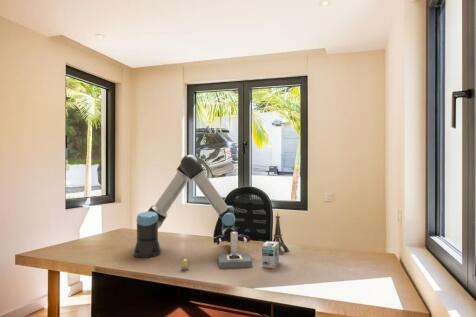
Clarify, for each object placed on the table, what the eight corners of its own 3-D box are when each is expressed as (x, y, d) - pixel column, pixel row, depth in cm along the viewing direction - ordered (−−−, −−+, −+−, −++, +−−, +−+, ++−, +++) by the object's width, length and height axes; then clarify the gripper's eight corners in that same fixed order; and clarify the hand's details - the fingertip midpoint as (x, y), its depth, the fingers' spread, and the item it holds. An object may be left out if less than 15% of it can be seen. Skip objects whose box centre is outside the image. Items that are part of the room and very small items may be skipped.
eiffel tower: (281, 255, 178) (281, 210, 178) (265, 252, 184) (265, 209, 184) (290, 251, 186) (289, 208, 187) (274, 248, 192) (274, 207, 193)
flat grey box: (220, 268, 155) (219, 262, 155) (217, 260, 169) (217, 254, 169) (252, 267, 157) (252, 260, 158) (247, 258, 171) (247, 252, 171)
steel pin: (231, 264, 161) (231, 233, 162) (230, 262, 165) (230, 231, 165) (238, 264, 162) (238, 232, 162) (237, 262, 165) (237, 231, 166)
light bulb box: (275, 268, 155) (274, 246, 155) (261, 267, 157) (261, 245, 157) (279, 262, 165) (279, 241, 165) (266, 261, 167) (266, 240, 167)
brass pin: (181, 271, 152) (180, 260, 152) (181, 268, 155) (181, 258, 156) (188, 270, 152) (188, 260, 152) (188, 268, 156) (188, 258, 156)
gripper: (250, 240, 190) (256, 249, 169) (208, 241, 187) (209, 251, 166) (250, 227, 190) (256, 235, 169) (208, 228, 187) (209, 236, 166)
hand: (233, 243), depth 167 cm, fingers open, 13 cm apart
